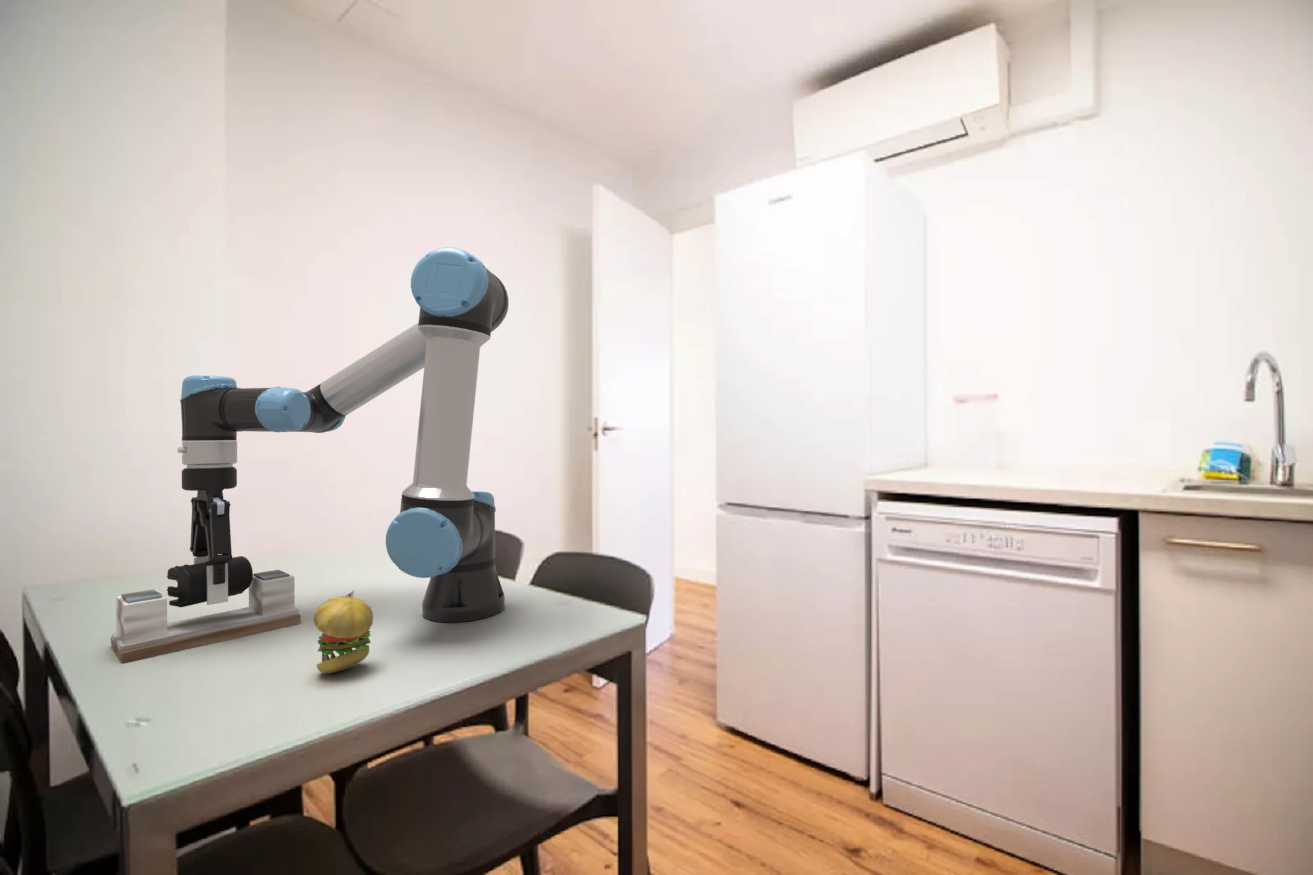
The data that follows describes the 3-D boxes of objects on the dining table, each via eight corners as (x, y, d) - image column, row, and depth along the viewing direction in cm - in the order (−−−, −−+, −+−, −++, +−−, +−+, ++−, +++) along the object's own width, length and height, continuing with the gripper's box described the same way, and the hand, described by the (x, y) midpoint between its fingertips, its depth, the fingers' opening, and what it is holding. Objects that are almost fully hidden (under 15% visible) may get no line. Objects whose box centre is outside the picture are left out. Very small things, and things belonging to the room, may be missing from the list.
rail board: (300, 623, 105) (300, 575, 105) (122, 663, 86) (121, 605, 86) (280, 611, 112) (279, 566, 112) (111, 646, 94) (110, 593, 94)
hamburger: (351, 658, 88) (351, 579, 88) (385, 666, 85) (384, 584, 85) (302, 677, 81) (301, 592, 81) (336, 687, 78) (335, 598, 78)
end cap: (189, 610, 93) (189, 568, 93) (164, 605, 96) (164, 565, 96) (253, 595, 102) (253, 557, 102) (229, 591, 105) (229, 554, 105)
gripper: (168, 465, 103) (169, 592, 103) (197, 469, 89) (198, 615, 90) (219, 463, 109) (220, 583, 109) (254, 467, 95) (255, 604, 95)
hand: (210, 598), depth 99 cm, fingers closed on end cap, 8 cm apart
